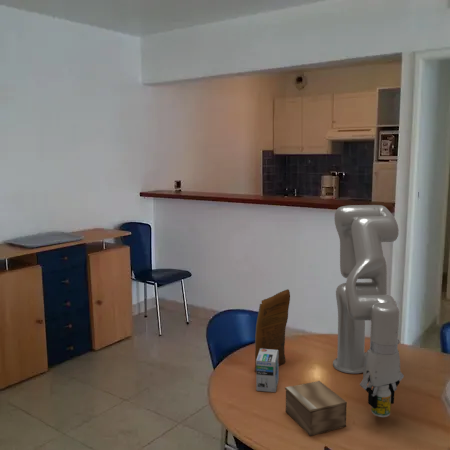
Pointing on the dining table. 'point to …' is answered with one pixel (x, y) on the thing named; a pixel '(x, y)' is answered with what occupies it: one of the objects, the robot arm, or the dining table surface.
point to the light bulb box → (267, 370)
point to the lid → (315, 396)
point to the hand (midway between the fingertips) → (381, 403)
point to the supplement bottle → (382, 401)
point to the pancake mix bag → (272, 324)
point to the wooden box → (316, 416)
